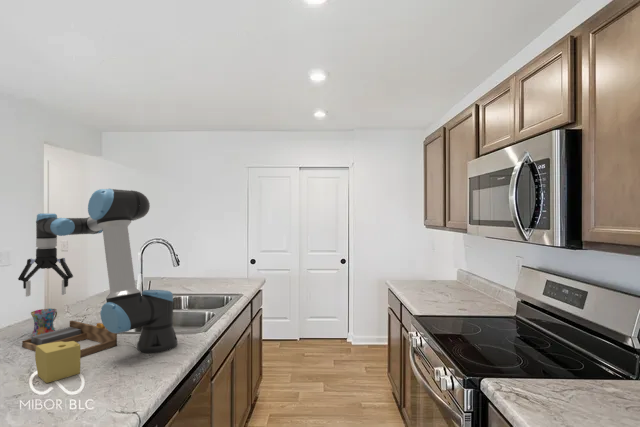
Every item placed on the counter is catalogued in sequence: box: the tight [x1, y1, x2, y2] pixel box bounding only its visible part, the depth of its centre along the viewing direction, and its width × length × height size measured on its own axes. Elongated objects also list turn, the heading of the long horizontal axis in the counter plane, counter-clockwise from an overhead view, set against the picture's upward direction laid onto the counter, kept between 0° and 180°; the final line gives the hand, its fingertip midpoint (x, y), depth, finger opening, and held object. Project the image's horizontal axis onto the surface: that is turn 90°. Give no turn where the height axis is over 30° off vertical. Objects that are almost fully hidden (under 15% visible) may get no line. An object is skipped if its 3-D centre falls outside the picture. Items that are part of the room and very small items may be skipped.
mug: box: [30, 308, 58, 337], centre depth 167 cm, size 12×9×11 cm
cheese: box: [34, 341, 82, 384], centre depth 124 cm, size 10×11×10 cm
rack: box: [21, 320, 118, 358], centre depth 151 cm, size 32×19×8 cm, turn 62°
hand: (46, 295), depth 167 cm, fingers open, 13 cm apart
